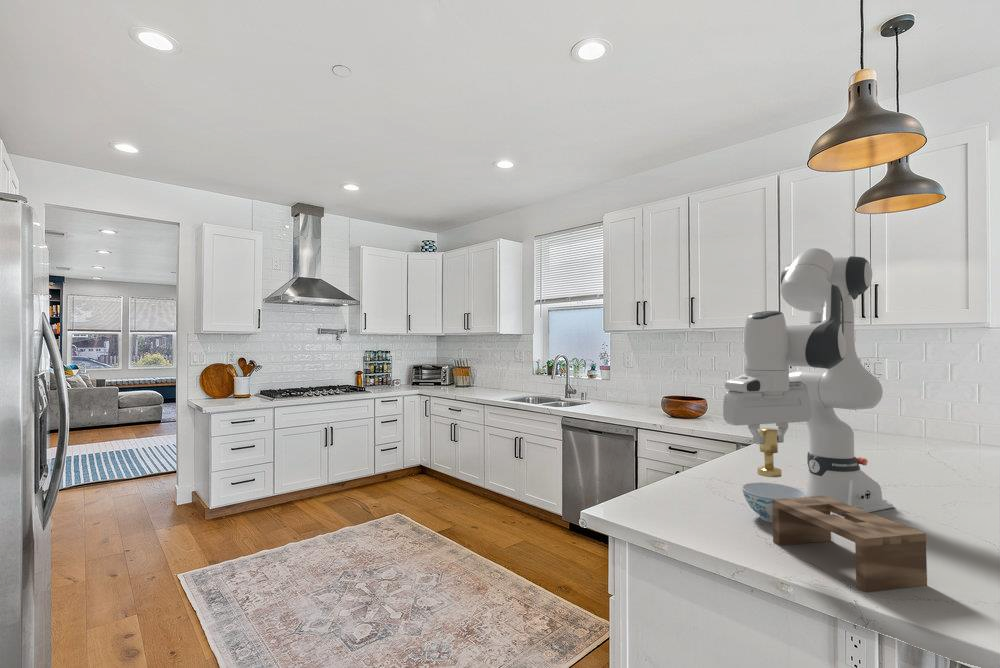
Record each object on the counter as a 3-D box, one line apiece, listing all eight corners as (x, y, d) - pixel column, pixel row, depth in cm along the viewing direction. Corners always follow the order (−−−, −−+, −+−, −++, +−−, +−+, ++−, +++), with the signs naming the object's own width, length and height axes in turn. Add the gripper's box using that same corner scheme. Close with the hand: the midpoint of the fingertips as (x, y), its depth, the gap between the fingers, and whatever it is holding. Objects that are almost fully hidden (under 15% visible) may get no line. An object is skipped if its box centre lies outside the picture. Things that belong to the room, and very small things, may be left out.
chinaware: (732, 509, 138) (732, 482, 138) (786, 509, 137) (786, 482, 138) (759, 529, 123) (758, 499, 123) (820, 530, 122) (819, 499, 123)
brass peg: (771, 471, 113) (769, 427, 114) (786, 476, 109) (785, 430, 109) (752, 472, 113) (751, 428, 113) (767, 478, 108) (766, 431, 108)
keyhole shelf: (773, 541, 115) (772, 499, 116) (824, 537, 118) (823, 495, 118) (865, 592, 92) (864, 538, 92) (927, 585, 94) (925, 533, 95)
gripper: (796, 379, 116) (798, 437, 116) (718, 382, 112) (719, 442, 112) (817, 381, 110) (819, 443, 109) (735, 384, 106) (737, 448, 106)
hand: (768, 443), depth 111 cm, fingers closed on brass peg, 4 cm apart
